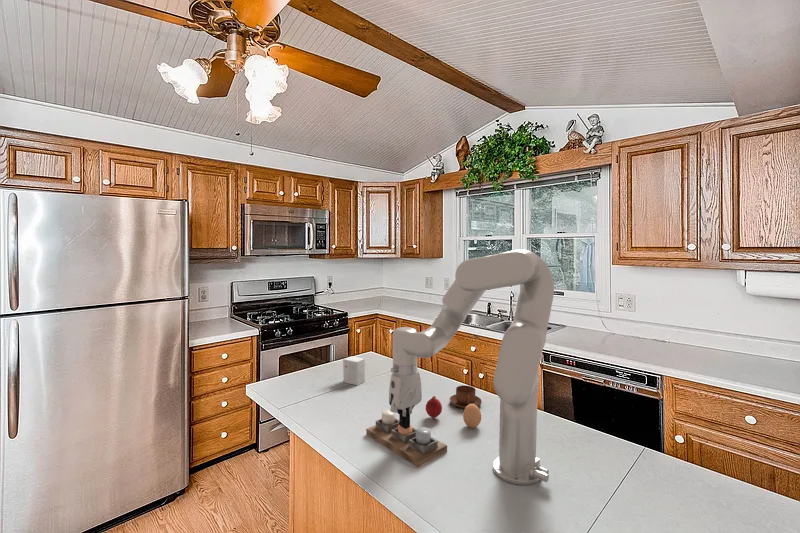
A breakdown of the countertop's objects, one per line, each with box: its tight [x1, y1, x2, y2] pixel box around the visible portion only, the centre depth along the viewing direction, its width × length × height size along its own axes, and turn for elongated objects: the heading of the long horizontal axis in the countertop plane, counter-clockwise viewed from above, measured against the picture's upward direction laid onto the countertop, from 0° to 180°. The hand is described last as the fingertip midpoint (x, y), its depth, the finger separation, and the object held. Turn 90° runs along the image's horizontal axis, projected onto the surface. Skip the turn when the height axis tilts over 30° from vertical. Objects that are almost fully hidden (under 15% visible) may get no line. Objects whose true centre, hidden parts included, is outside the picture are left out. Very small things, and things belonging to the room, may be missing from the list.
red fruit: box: [425, 395, 443, 419], centre depth 137 cm, size 6×6×8 cm
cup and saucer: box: [449, 384, 482, 409], centre depth 149 cm, size 12×12×6 cm
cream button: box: [381, 409, 396, 425], centre depth 126 cm, size 4×4×3 cm
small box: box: [342, 355, 366, 386], centre depth 172 cm, size 8×6×10 cm
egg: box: [462, 404, 482, 429], centre depth 130 cm, size 6×6×8 cm
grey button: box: [415, 427, 432, 445], centre depth 113 cm, size 4×4×3 cm
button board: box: [365, 417, 448, 468], centre depth 120 cm, size 24×12×4 cm, turn 41°
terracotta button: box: [398, 424, 413, 436], centre depth 120 cm, size 4×4×3 cm
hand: (404, 426), depth 120 cm, fingers closed
